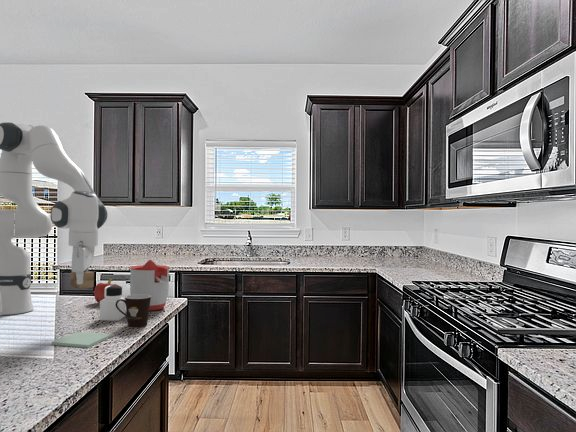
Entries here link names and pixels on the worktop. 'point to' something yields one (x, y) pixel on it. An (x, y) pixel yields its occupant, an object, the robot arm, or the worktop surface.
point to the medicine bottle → (112, 304)
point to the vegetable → (101, 290)
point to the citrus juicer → (151, 283)
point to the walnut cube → (87, 280)
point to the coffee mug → (136, 309)
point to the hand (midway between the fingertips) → (82, 281)
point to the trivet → (81, 339)
